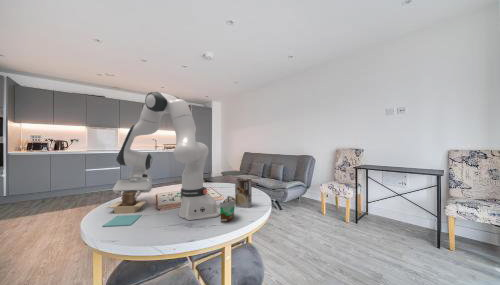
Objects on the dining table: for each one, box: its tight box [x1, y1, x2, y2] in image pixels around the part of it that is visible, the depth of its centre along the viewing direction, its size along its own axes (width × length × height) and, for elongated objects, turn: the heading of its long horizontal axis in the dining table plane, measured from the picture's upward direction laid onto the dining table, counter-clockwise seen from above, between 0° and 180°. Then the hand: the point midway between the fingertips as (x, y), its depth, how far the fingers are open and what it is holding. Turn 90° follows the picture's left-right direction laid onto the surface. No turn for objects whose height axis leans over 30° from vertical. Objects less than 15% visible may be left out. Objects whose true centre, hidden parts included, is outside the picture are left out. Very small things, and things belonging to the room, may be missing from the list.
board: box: [102, 214, 142, 228], centre depth 93 cm, size 12×12×1 cm
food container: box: [219, 195, 236, 224], centre depth 96 cm, size 12×6×10 cm, turn 168°
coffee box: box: [234, 177, 253, 208], centre depth 117 cm, size 9×6×16 cm
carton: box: [108, 200, 148, 214], centre depth 109 cm, size 16×10×4 cm, turn 97°
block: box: [121, 192, 137, 206], centre depth 109 cm, size 5×5×9 cm
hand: (128, 198), depth 108 cm, fingers closed on block, 5 cm apart
